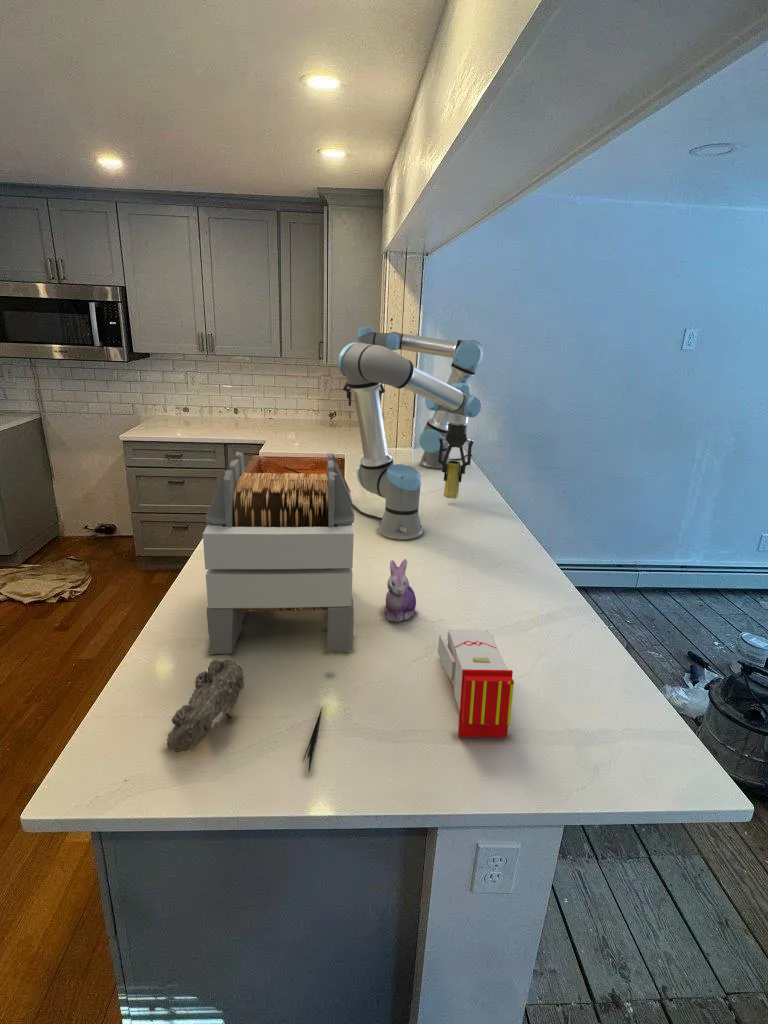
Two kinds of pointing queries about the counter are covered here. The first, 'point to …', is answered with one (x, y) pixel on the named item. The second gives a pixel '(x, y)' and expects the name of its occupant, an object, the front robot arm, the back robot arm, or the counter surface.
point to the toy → (478, 682)
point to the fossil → (206, 705)
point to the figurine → (399, 594)
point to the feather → (313, 740)
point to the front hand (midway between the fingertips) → (452, 480)
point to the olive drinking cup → (452, 479)
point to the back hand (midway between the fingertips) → (363, 406)
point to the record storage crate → (279, 550)
